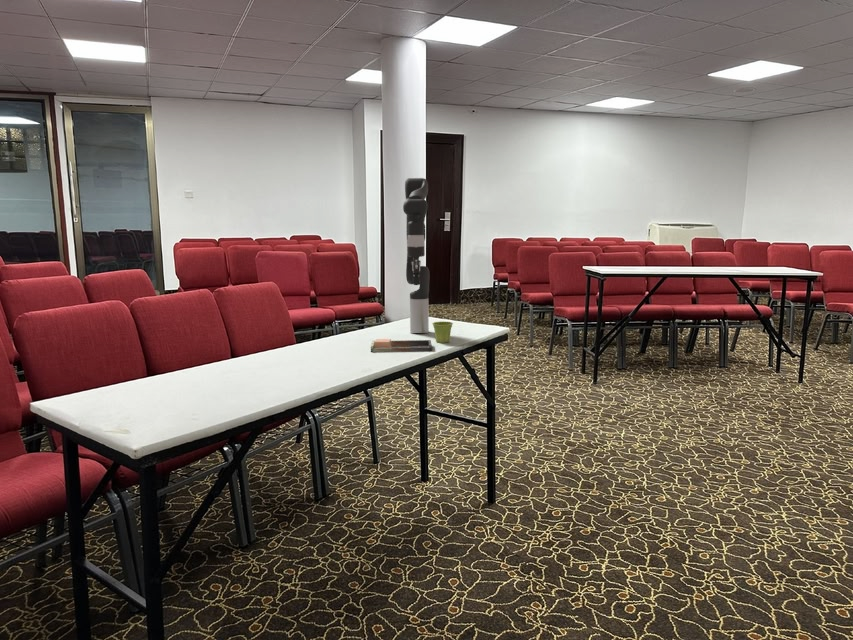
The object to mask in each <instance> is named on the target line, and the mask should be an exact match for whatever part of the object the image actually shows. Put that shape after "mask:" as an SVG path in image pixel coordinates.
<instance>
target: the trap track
mask: <svg viewBox="0 0 853 640" xmlns="http://www.w3.org/2000/svg"><path fill="white" fill-rule="evenodd" d="M374 341H375V340H372V341H371V344H370V353H382V352H383V353H387V352H388V353H389V352H391V353H393V351H401V352H432V350H433V344H432V341H431V339H418V340H417V339H416V340H415V339H413V340H407V339H406V340H391V346H401V347H391V348H374Z"/></svg>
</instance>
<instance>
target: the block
mask: <svg viewBox="0 0 853 640" xmlns="http://www.w3.org/2000/svg"><path fill="white" fill-rule="evenodd" d="M373 341H374V348H392V347H391V341H392V339H390V338H376V339H375V340H373Z"/></svg>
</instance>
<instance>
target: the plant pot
mask: <svg viewBox="0 0 853 640" xmlns="http://www.w3.org/2000/svg"><path fill="white" fill-rule="evenodd" d="M431 324H432V326H433V328H434V334H435V342H436V343H441V344H444V343H449V342H450V339H451V331H452V327H453V325H454V323H453V322H451V321H435V322H432V323H431Z"/></svg>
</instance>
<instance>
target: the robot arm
mask: <svg viewBox="0 0 853 640" xmlns="http://www.w3.org/2000/svg"><path fill="white" fill-rule="evenodd" d="M405 179H406V180H405V182H404V193H405V194H404V196H405V200H404V202H403V206H402V207H403V208H402V210H403V213H404V214H405V215H406V249H407V250H406V270H405V277H406V282H407V283H408V284H409V285H414V286H419V288H418V289H416V290H414V291H411V292H409V319H410V320H409V325H410V326H409V328H410V332H411V333H410V334H413V333H425V334H428V333H429V332H430V330H429V329H430V327H429V326H430V325H429V322H430V321H429V319H430V318H429V317H430V316H429V314H430V313H429V307H430V306H429V293H430V277H431V276H430V274H431V273H430V269H429V267H428V266H425V265H421V264H422V263H421V260H420V258H422V257H425V255H426V254H425V252H426V251H425V249H426V248H425V245H426V244H425V242H426V225H425V221H426V216H427V212H428V208H429V204H428V201H427V200H426V198H427V196H428V193H429V182H428V180H427V179H426V178H423V177H415V178H412V177H411V178H409V177H408V178H405Z"/></svg>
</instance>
